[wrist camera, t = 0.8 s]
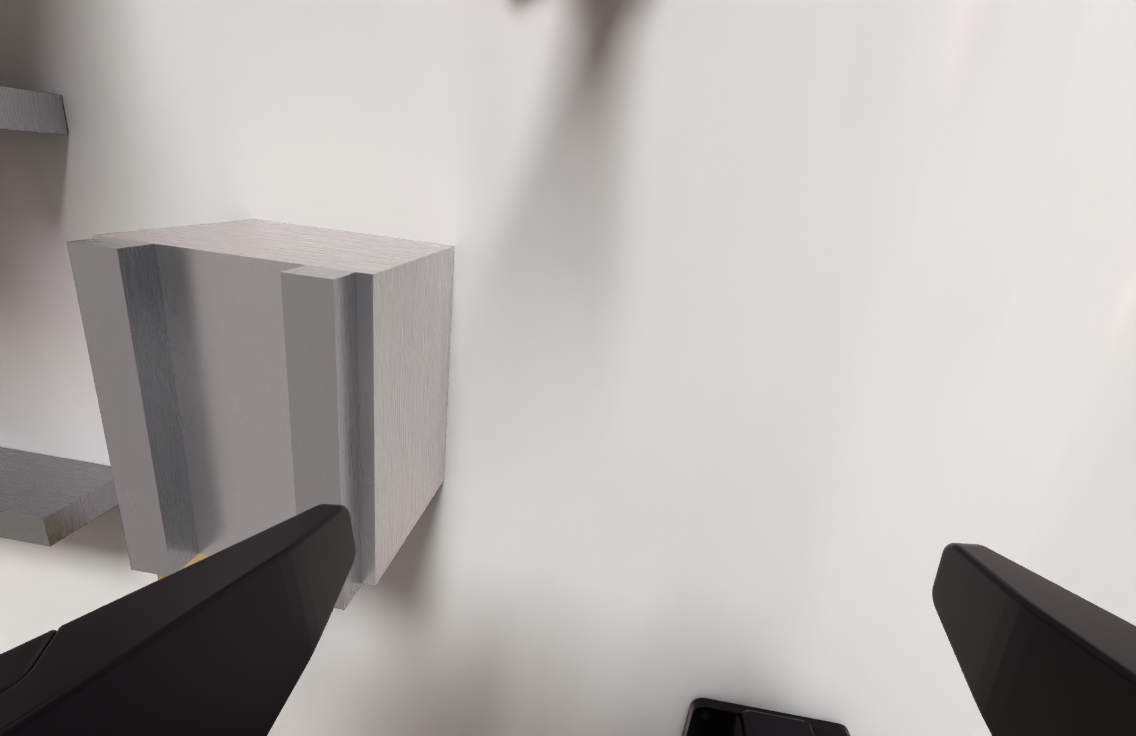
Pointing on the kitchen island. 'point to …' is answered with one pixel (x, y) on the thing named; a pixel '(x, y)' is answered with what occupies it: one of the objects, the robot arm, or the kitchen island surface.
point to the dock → (28, 480)
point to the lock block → (267, 382)
